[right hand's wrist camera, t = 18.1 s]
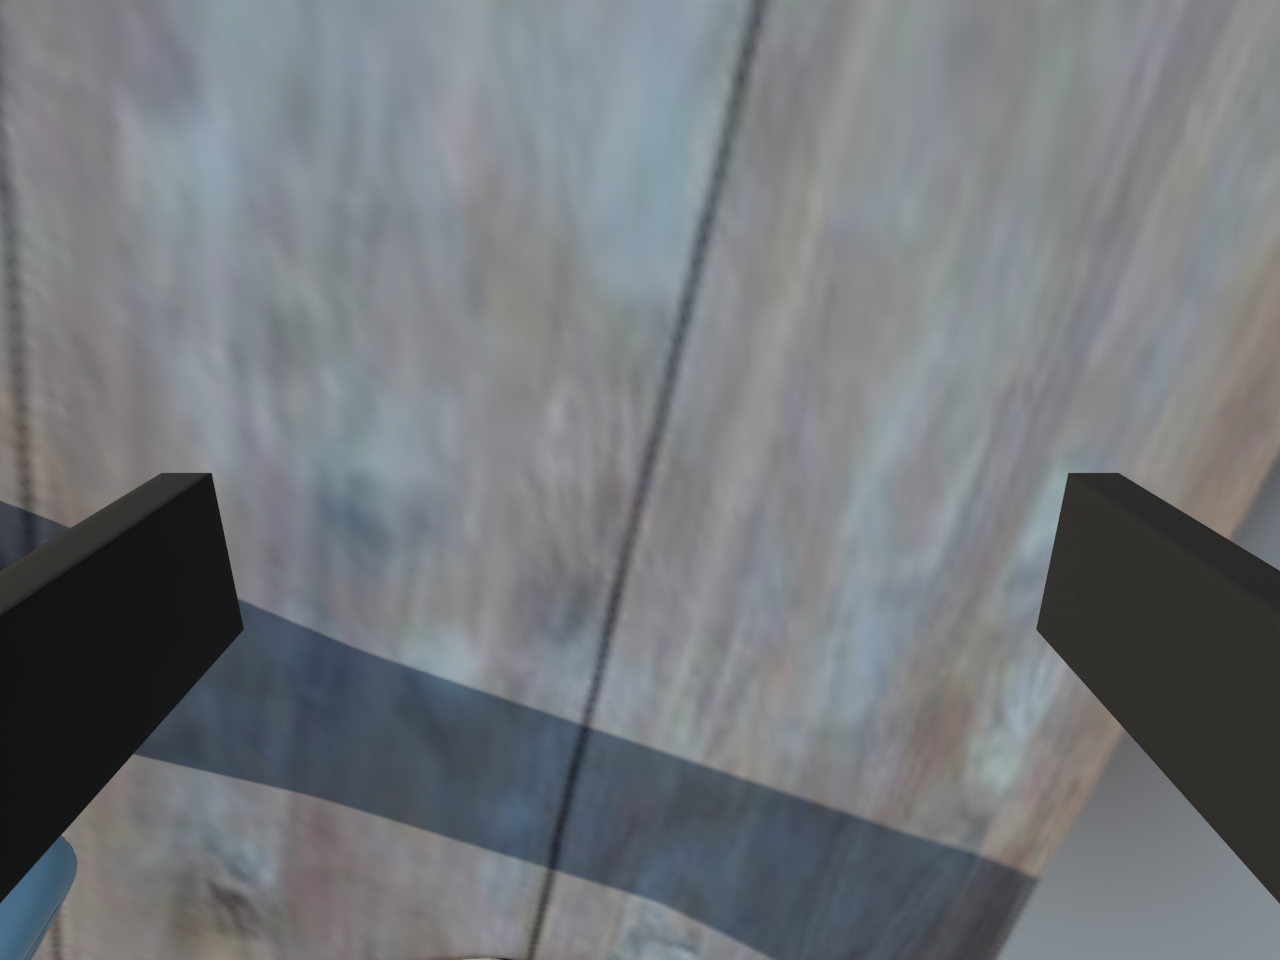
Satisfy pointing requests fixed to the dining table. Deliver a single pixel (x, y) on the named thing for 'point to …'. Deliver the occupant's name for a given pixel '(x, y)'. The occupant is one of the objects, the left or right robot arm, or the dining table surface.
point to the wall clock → (483, 959)
